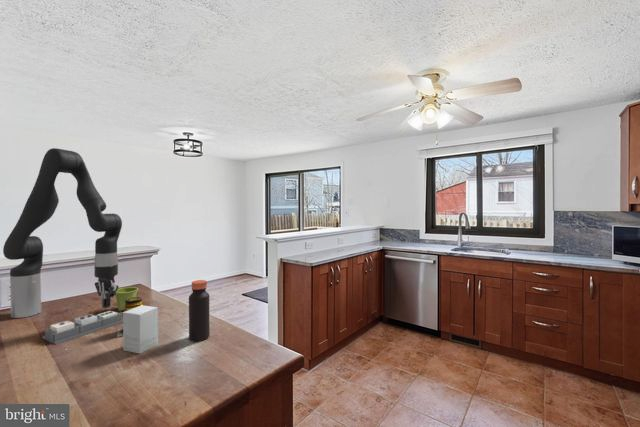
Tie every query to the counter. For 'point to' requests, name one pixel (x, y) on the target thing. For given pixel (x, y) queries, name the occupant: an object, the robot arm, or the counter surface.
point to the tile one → (61, 326)
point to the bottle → (199, 311)
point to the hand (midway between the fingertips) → (106, 307)
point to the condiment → (130, 305)
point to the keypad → (82, 329)
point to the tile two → (85, 319)
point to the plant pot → (124, 296)
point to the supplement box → (140, 329)
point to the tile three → (106, 314)
